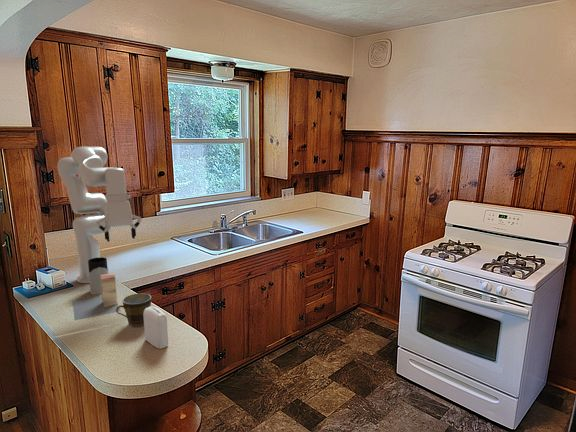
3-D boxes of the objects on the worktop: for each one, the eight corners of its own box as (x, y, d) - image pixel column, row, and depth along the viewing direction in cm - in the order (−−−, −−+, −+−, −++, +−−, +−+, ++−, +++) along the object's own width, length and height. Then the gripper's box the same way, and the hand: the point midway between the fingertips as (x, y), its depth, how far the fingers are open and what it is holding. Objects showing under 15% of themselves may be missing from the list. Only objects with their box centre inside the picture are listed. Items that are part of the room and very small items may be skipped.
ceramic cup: (143, 315, 150) (142, 291, 148) (158, 322, 144) (156, 297, 142) (111, 327, 140) (109, 301, 138) (125, 336, 134) (123, 309, 132)
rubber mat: (72, 302, 161) (72, 301, 161) (114, 295, 169) (114, 293, 169) (74, 321, 144) (74, 320, 144) (120, 312, 152) (120, 310, 152)
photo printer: (143, 339, 132) (140, 306, 129) (154, 335, 135) (152, 302, 132) (158, 350, 125) (156, 315, 123) (170, 345, 128) (168, 311, 126)
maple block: (102, 302, 160) (100, 275, 158) (115, 300, 163) (113, 273, 160) (103, 306, 156) (101, 278, 154) (117, 304, 158) (115, 276, 156)
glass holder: (90, 297, 167) (87, 264, 164) (86, 286, 178) (83, 255, 176) (112, 293, 172) (109, 260, 169) (107, 283, 183) (104, 253, 180)
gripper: (138, 196, 164) (141, 235, 166) (92, 199, 155) (97, 240, 158) (141, 197, 157) (144, 238, 160) (94, 201, 149) (98, 244, 152)
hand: (121, 239), depth 159 cm, fingers open, 9 cm apart
